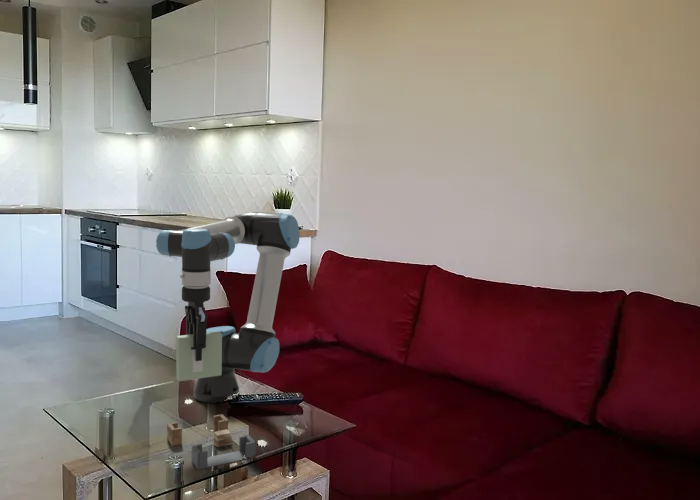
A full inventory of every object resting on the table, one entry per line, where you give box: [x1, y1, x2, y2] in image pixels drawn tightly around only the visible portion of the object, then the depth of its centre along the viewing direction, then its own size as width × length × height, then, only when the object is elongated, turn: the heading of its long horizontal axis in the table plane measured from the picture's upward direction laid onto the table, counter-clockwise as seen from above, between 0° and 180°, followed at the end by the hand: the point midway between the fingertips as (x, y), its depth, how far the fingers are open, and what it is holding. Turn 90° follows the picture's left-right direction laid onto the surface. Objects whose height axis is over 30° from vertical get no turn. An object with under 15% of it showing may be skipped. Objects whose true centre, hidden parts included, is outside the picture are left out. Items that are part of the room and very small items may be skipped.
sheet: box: [175, 332, 222, 382], centre depth 168 cm, size 12×2×12 cm, turn 121°
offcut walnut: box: [213, 436, 233, 447], centre depth 167 cm, size 4×3×2 cm
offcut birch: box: [212, 441, 233, 448], centre depth 167 cm, size 4×3×2 cm
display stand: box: [191, 434, 256, 470], centre depth 158 cm, size 15×5×5 cm, turn 121°
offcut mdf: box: [213, 429, 232, 441], centre depth 167 cm, size 4×3×2 cm
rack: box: [166, 414, 229, 447], centre depth 170 cm, size 16×5×5 cm, turn 121°
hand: (195, 369), depth 168 cm, fingers closed on sheet, 2 cm apart
